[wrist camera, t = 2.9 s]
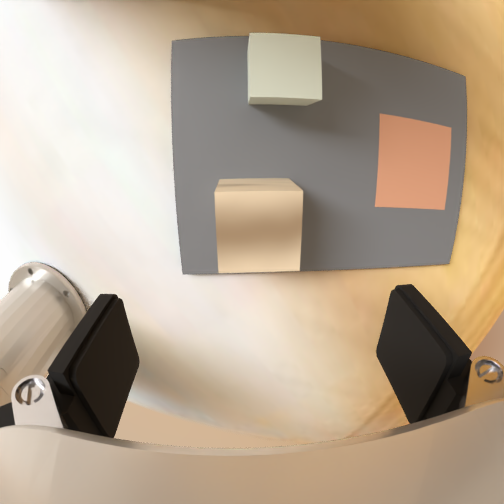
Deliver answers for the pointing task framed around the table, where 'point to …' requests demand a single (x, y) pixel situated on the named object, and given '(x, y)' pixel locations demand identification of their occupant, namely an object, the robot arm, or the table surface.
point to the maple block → (258, 225)
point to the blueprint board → (324, 153)
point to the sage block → (284, 69)
